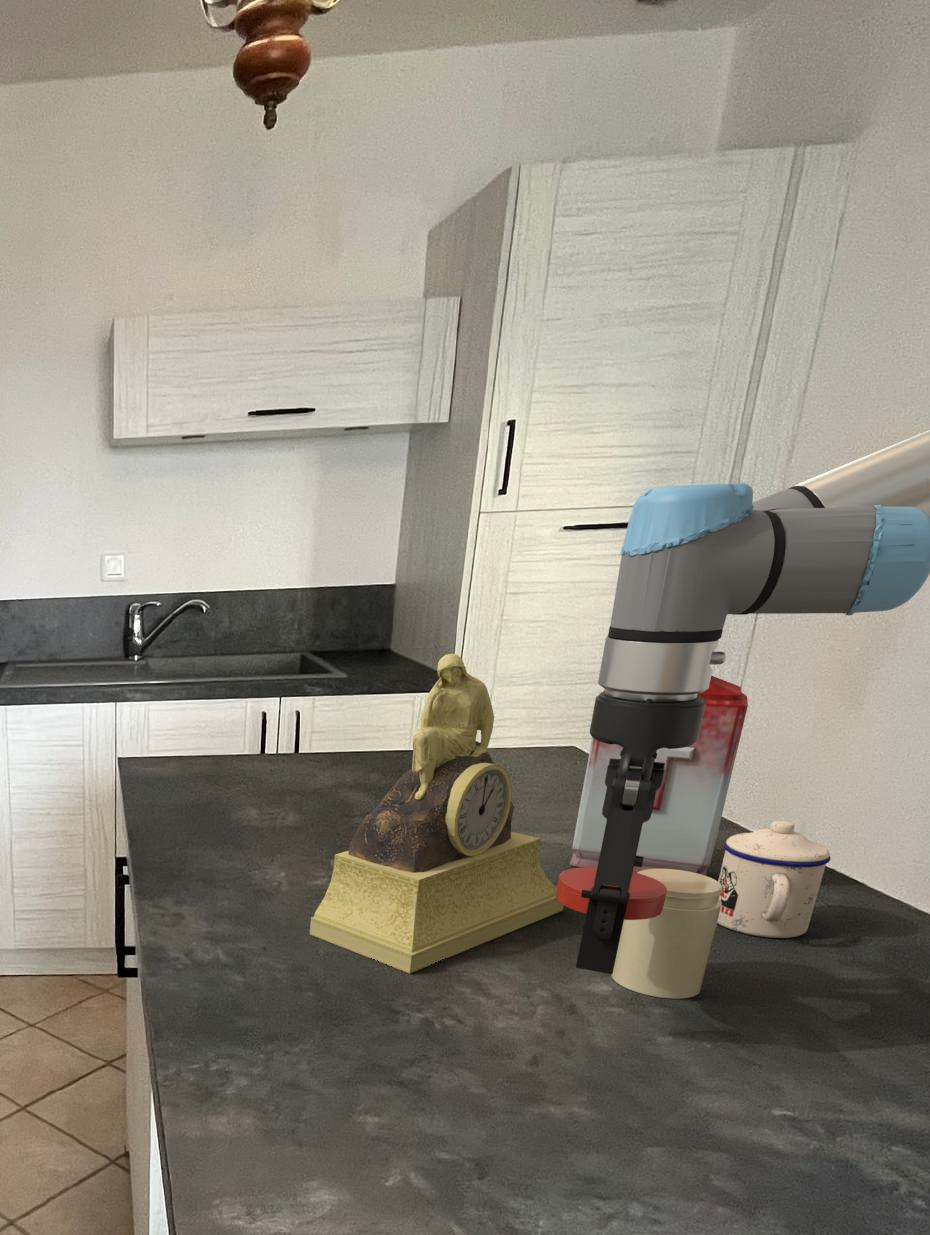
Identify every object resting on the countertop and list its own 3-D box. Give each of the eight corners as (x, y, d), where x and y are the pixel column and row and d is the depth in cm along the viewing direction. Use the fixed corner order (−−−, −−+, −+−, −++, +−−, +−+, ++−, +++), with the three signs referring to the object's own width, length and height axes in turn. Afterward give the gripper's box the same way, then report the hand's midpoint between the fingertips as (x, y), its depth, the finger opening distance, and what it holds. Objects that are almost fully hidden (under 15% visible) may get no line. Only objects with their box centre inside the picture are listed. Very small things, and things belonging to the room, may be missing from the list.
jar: (700, 975, 96) (724, 874, 93) (700, 1005, 91) (726, 899, 87) (613, 960, 100) (633, 862, 97) (608, 988, 95) (629, 886, 91)
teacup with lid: (702, 904, 113) (725, 807, 109) (801, 915, 109) (828, 815, 105) (714, 942, 103) (740, 837, 99) (822, 956, 99) (854, 848, 95)
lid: (533, 894, 87) (537, 874, 87) (600, 881, 90) (603, 861, 89) (615, 926, 80) (620, 904, 79) (685, 910, 83) (690, 889, 82)
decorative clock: (409, 973, 99) (446, 674, 89) (309, 934, 109) (331, 662, 99) (563, 910, 113) (611, 645, 102) (461, 880, 123) (495, 636, 113)
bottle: (566, 873, 124) (610, 631, 113) (576, 851, 132) (618, 622, 121) (704, 893, 116) (765, 634, 106) (705, 868, 124) (763, 624, 113)
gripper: (709, 718, 68) (643, 1008, 77) (706, 676, 84) (652, 919, 93) (586, 711, 72) (535, 987, 80) (606, 672, 88) (562, 905, 97)
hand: (598, 950), depth 87 cm, fingers closed on lid, 8 cm apart
